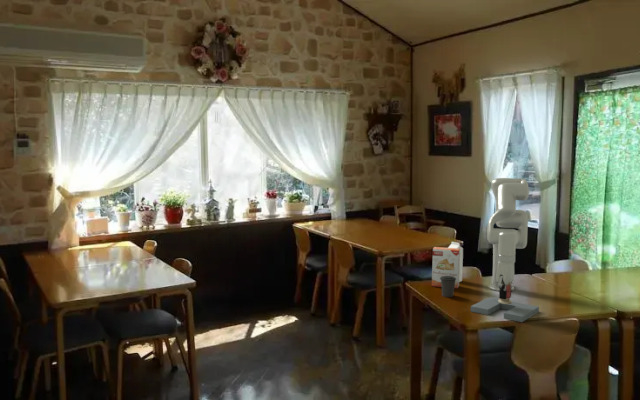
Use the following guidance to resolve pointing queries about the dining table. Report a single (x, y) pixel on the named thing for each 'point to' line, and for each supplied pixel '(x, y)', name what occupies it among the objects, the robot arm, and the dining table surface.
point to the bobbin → (507, 300)
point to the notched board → (514, 309)
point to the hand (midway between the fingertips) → (505, 297)
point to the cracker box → (445, 265)
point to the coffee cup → (447, 285)
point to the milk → (457, 245)
